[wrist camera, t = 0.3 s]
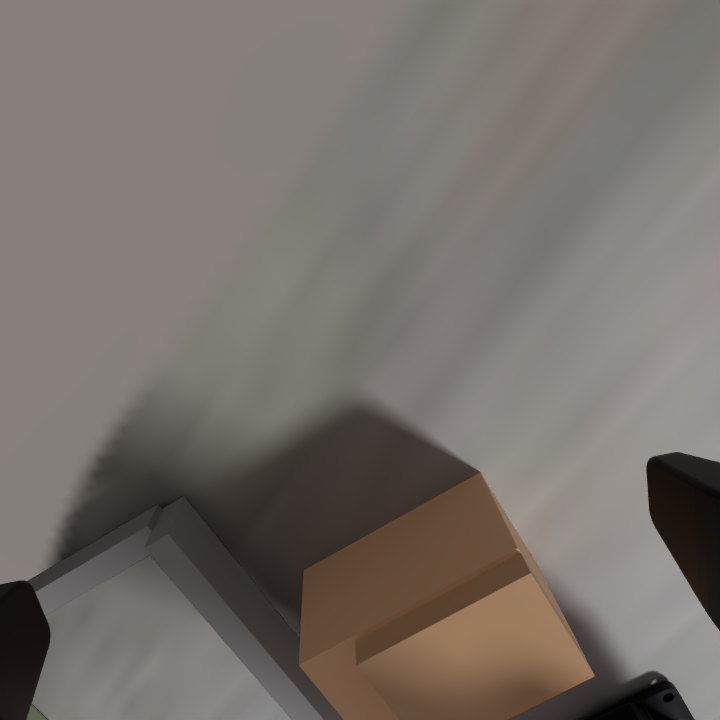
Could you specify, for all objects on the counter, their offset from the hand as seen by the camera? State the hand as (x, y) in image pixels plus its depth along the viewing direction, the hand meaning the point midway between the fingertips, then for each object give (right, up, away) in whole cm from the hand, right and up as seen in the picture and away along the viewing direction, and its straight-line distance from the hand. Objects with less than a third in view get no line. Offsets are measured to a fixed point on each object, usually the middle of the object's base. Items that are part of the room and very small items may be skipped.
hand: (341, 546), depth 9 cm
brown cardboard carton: (+3, -6, +16) cm, 17 cm away
